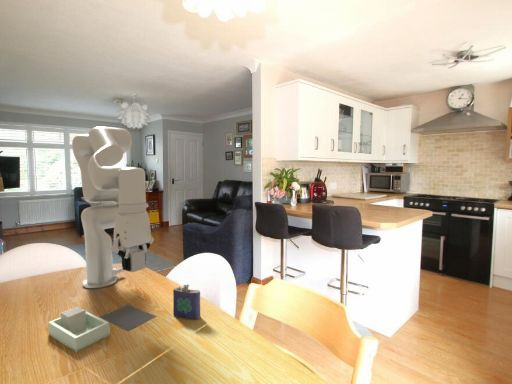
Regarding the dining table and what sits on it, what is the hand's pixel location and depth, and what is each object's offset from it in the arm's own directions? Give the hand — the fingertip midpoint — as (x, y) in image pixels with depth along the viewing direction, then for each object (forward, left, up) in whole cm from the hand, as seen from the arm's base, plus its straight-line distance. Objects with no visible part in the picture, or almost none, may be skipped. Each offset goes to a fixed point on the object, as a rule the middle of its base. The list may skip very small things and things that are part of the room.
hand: (134, 267), depth 89 cm
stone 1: (+14, -9, -16) cm, 23 cm away
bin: (+14, -6, -17) cm, 23 cm away
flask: (-9, +12, -17) cm, 23 cm away
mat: (+1, -3, -17) cm, 17 cm away
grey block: (0, 0, 0) cm, 0 cm away
